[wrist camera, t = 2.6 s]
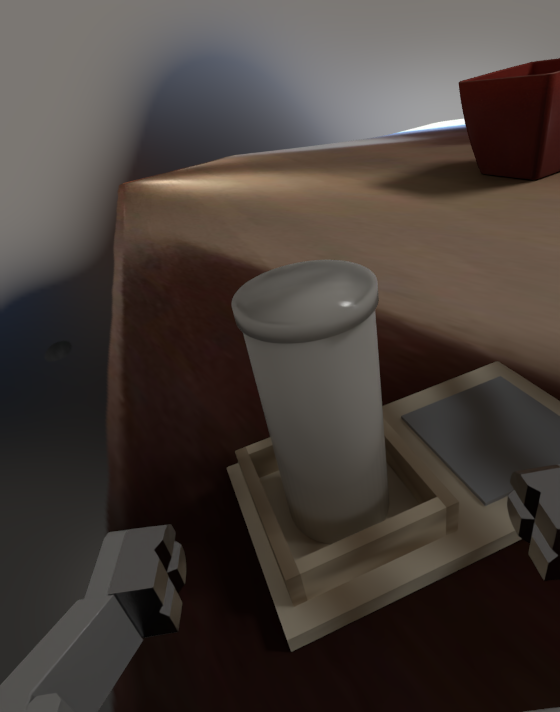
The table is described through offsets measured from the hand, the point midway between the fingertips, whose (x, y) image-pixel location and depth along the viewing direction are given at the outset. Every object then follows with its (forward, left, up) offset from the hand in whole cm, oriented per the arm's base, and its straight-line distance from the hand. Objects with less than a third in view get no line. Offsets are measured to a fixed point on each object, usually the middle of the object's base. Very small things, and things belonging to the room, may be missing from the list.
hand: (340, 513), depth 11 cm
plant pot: (-70, -65, -16) cm, 97 cm away
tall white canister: (-4, -13, -15) cm, 20 cm away
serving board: (-10, -12, -16) cm, 22 cm away
